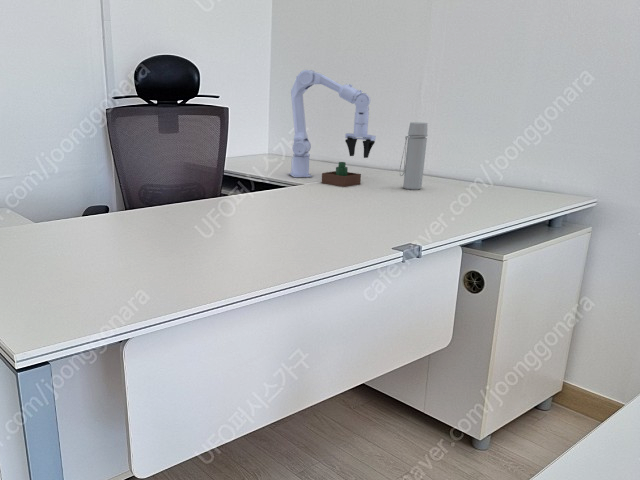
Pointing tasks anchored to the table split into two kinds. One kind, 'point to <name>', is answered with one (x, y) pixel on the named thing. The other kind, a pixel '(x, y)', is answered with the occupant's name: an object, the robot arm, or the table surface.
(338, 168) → the green bottle
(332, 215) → the table surface
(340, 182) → the tray
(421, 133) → the water bottle
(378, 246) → the table surface
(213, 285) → the table surface
